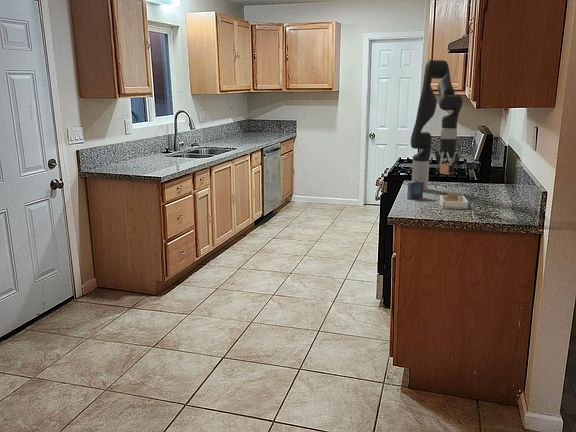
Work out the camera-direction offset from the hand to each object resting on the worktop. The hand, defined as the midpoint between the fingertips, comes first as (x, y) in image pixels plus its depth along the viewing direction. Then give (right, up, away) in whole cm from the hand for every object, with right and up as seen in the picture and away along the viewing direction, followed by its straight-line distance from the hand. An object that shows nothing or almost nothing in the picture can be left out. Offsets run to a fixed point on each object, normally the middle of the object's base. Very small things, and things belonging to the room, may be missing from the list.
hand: (446, 172), depth 247 cm
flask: (-9, -12, +25) cm, 29 cm away
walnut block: (+6, -14, +10) cm, 18 cm away
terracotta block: (0, 0, 0) cm, 0 cm away
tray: (+6, -16, +7) cm, 18 cm away
